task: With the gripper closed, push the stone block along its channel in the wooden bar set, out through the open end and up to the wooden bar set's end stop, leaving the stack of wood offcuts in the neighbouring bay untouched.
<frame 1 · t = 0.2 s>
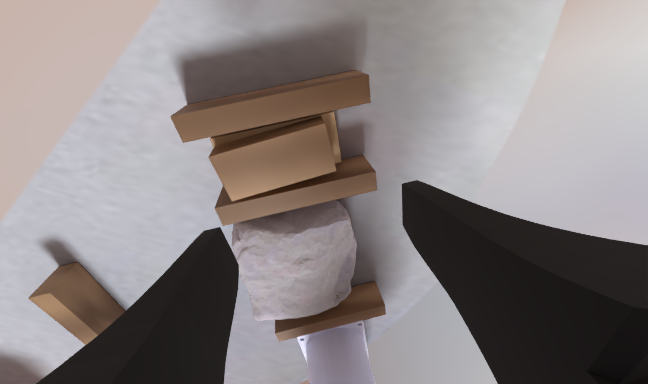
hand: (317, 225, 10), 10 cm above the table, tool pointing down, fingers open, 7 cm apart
stone block: (300, 246, 24), on the table
offcut top: (276, 153, 17), point 2 cm above the table
wooden bar set: (308, 249, 24), on the table
offcut low: (279, 141, 19), on the table
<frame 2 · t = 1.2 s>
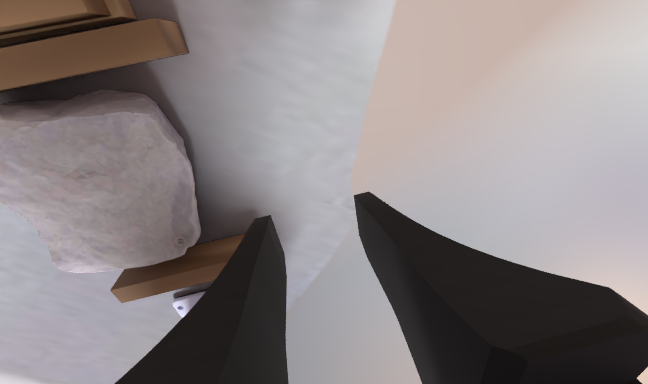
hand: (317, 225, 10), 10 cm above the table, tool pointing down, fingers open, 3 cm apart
stone block: (133, 176, 18), on the table
wooden bar set: (147, 177, 18), on the table
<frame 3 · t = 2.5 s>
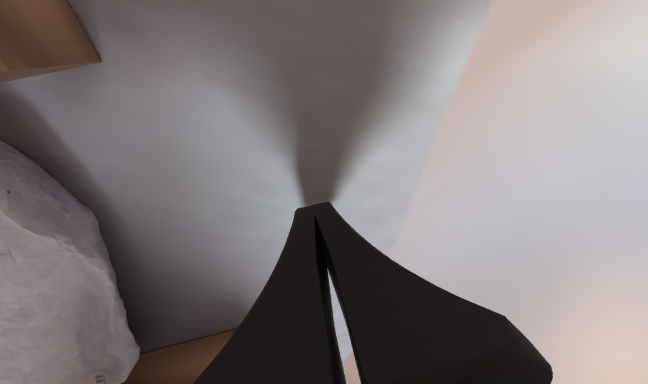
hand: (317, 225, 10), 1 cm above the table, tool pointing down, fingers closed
stone block: (20, 268, 11), on the table
wooden bar set: (56, 269, 11), on the table
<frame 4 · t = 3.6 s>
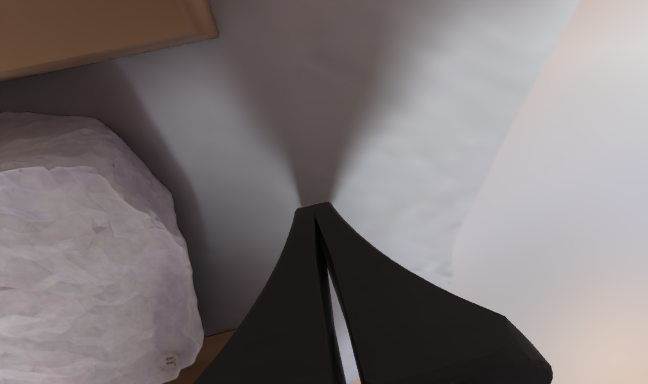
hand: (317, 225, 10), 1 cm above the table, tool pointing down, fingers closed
stone block: (90, 250, 11), on the table
wooden bar set: (141, 250, 11), on the table
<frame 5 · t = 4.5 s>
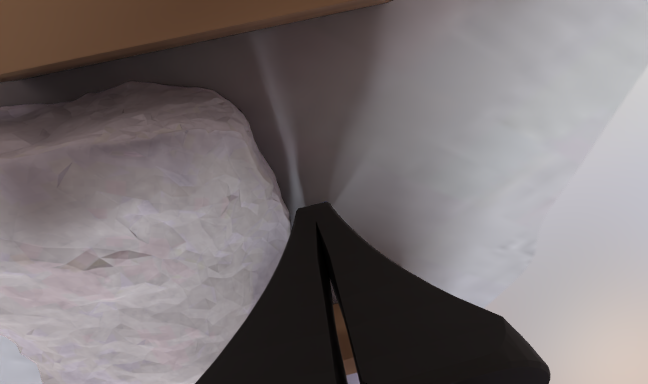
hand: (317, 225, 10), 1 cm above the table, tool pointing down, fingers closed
stone block: (178, 229, 11), on the table, touching gripper
wooden bar set: (261, 221, 11), on the table
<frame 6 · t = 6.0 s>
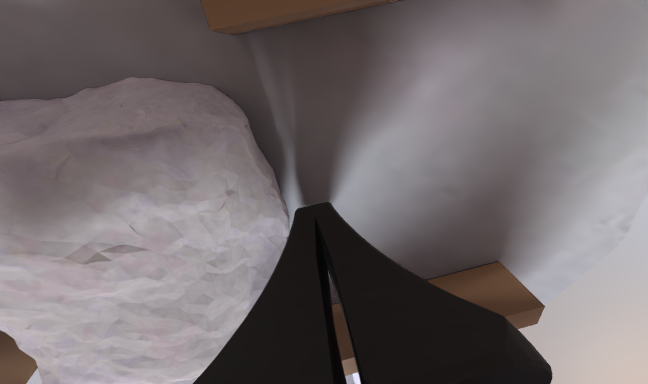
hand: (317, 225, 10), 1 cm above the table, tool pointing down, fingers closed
stone block: (177, 225, 11), on the table
wooden bar set: (399, 188, 11), on the table
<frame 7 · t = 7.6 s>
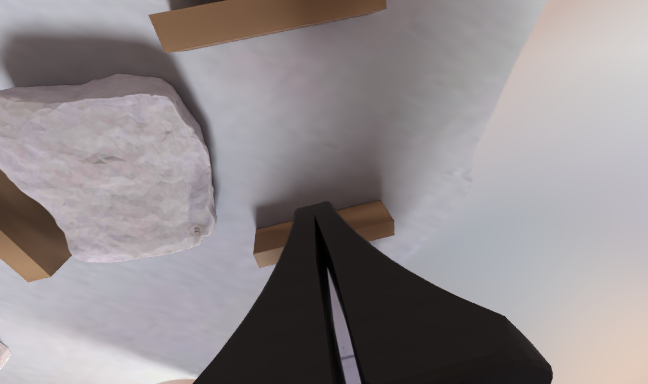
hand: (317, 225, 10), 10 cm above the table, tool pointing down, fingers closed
stone block: (148, 164, 18), on the table
wooden bar set: (295, 142, 19), on the table
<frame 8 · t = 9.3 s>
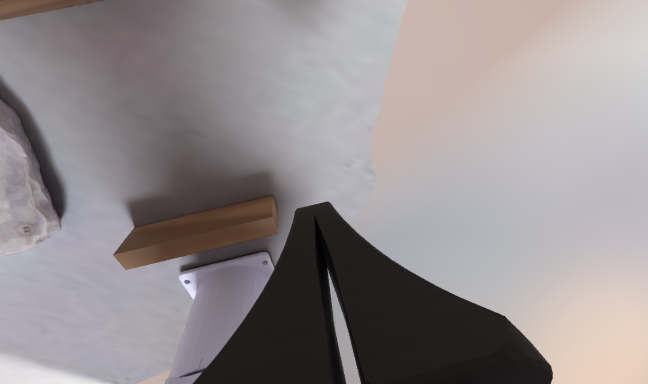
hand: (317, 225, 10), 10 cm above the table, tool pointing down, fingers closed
wooden bar set: (153, 130, 17), on the table
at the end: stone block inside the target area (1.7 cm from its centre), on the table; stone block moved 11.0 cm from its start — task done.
